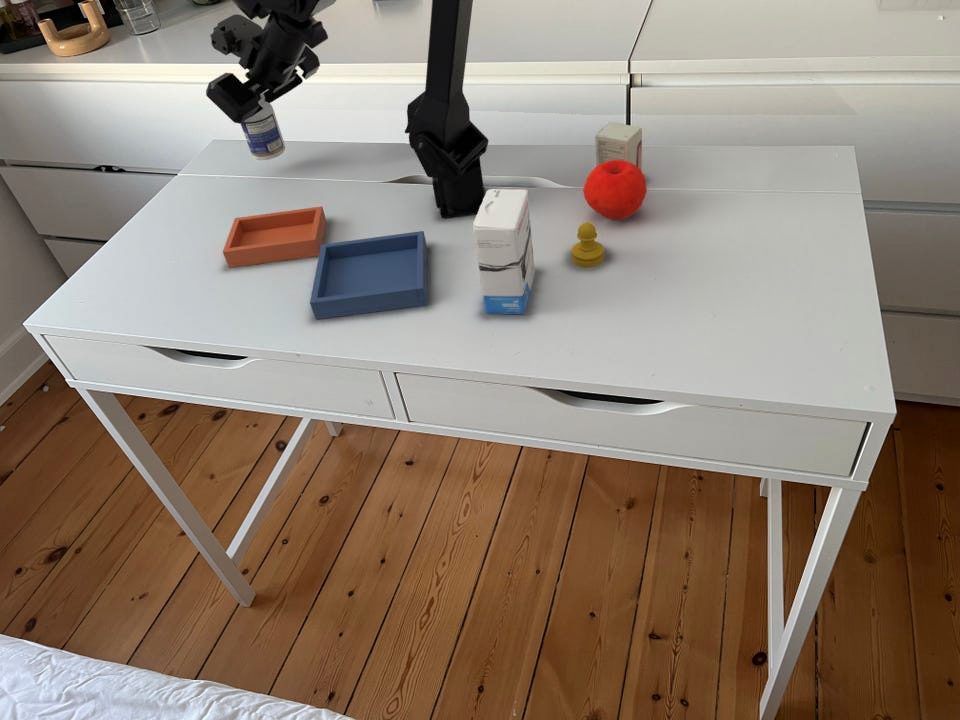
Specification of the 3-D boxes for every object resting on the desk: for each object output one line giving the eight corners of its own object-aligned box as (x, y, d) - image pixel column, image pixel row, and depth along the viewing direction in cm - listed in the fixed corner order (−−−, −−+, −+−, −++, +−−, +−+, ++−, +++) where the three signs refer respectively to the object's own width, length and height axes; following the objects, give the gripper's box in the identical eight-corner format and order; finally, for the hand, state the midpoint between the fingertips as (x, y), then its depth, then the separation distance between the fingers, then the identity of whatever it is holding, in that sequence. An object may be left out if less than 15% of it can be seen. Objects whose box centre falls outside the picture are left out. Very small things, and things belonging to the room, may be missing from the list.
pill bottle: (255, 148, 123) (234, 89, 117) (287, 142, 123) (268, 83, 117) (250, 163, 119) (228, 103, 113) (284, 158, 119) (264, 97, 113)
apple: (581, 230, 100) (578, 180, 95) (588, 198, 106) (587, 149, 101) (643, 232, 98) (644, 180, 93) (648, 199, 104) (649, 149, 99)
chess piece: (606, 250, 96) (606, 215, 93) (600, 268, 93) (599, 233, 90) (575, 248, 97) (574, 213, 94) (568, 266, 95) (566, 231, 91)
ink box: (525, 315, 89) (516, 228, 81) (483, 314, 90) (470, 228, 82) (536, 272, 95) (528, 186, 87) (497, 271, 96) (485, 187, 88)
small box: (642, 179, 108) (643, 126, 103) (628, 194, 105) (628, 140, 100) (610, 172, 110) (610, 120, 105) (595, 186, 108) (594, 134, 103)
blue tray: (427, 247, 102) (423, 230, 100) (426, 305, 92) (423, 287, 91) (326, 260, 102) (320, 244, 101) (315, 319, 93) (309, 302, 91)
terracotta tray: (326, 221, 110) (322, 206, 108) (320, 255, 104) (315, 239, 102) (240, 233, 111) (234, 218, 109) (229, 267, 104) (222, 251, 102)
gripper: (280, -25, 110) (249, 49, 122) (188, 23, 99) (163, 99, 111) (338, 34, 112) (301, 101, 124) (255, 87, 100) (223, 155, 112)
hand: (249, 112), depth 118 cm, fingers closed on pill bottle, 5 cm apart
